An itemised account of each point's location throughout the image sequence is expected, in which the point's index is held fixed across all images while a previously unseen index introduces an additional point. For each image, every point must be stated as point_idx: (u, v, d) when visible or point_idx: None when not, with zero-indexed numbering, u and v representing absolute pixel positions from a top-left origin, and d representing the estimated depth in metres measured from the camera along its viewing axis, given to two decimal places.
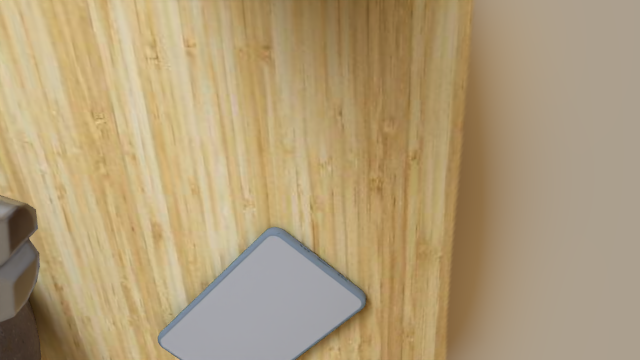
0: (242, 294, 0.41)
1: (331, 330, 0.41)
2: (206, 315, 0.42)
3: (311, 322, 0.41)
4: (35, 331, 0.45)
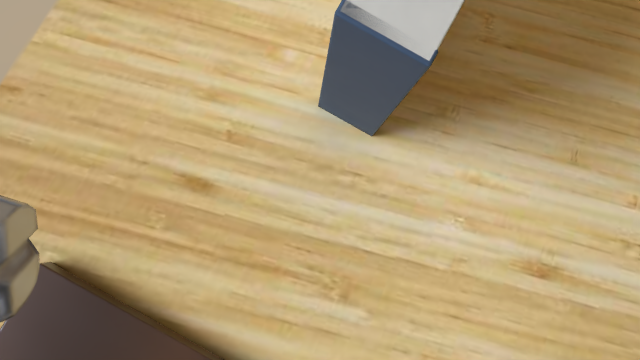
0: None
1: None
2: None
3: None
4: None
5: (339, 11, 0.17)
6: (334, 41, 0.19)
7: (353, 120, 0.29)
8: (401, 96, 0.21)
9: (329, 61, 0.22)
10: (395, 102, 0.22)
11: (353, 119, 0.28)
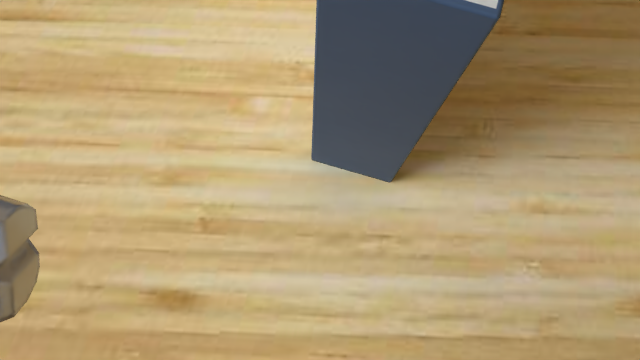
0: None
1: None
2: None
3: None
4: None
5: None
6: (323, 33, 0.12)
7: (363, 166, 0.21)
8: (439, 100, 0.14)
9: (319, 77, 0.14)
10: (428, 115, 0.15)
11: (362, 164, 0.21)
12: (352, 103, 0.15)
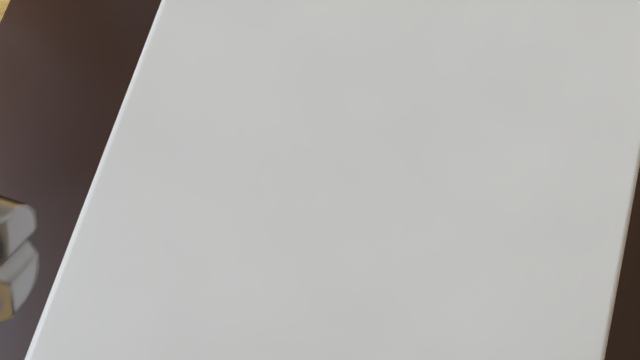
0: None
1: None
2: None
3: None
4: None
5: None
6: None
7: None
8: None
9: None
10: None
11: None
12: None
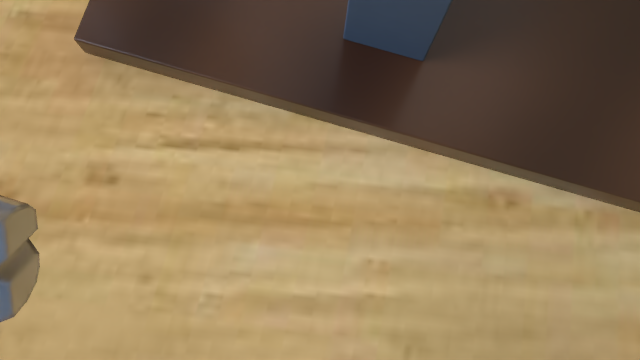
0: None
1: None
2: None
3: None
4: None
5: None
6: None
7: (397, 38, 0.21)
8: None
9: None
10: None
11: (397, 35, 0.21)
12: None
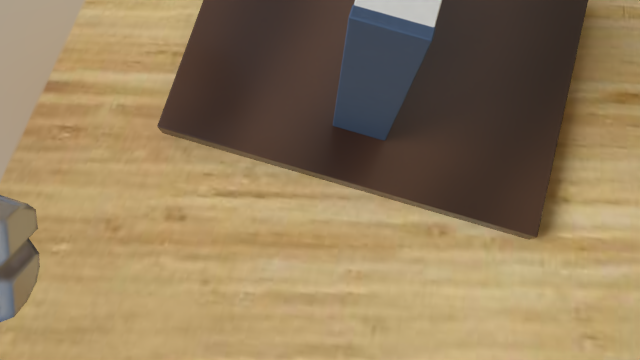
0: None
1: None
2: None
3: None
4: None
5: (352, 15, 0.21)
6: (348, 46, 0.24)
7: (366, 128, 0.33)
8: (410, 82, 0.25)
9: (344, 69, 0.26)
10: (405, 91, 0.26)
11: (366, 127, 0.33)
12: (361, 84, 0.27)
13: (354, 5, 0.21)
